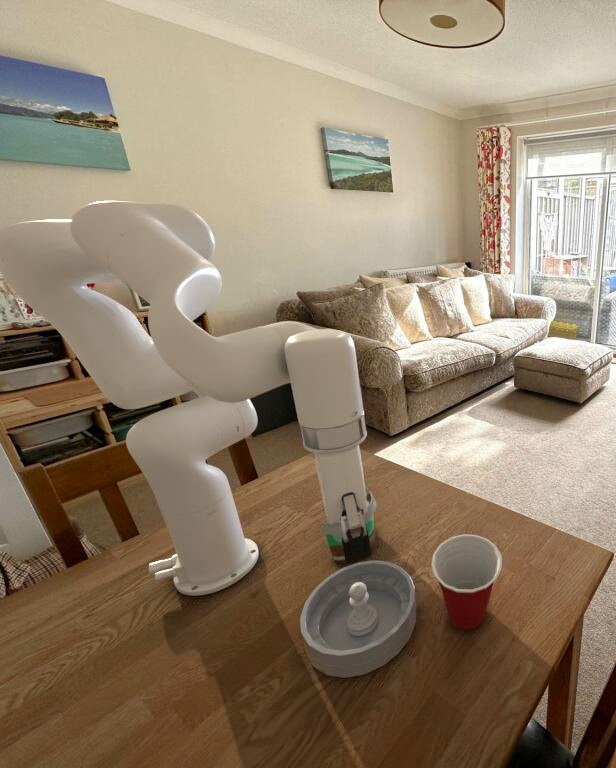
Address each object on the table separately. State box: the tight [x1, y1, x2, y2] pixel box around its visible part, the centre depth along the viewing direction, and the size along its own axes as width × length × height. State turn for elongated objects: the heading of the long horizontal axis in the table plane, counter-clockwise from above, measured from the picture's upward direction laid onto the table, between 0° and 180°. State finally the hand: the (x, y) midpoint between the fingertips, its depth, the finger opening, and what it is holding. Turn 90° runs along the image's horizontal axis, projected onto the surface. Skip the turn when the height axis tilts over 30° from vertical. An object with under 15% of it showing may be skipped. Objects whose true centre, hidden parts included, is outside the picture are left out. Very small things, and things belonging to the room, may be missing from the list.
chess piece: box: [347, 582, 379, 636], centre depth 62 cm, size 5×5×8 cm
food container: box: [321, 487, 377, 564], centre depth 77 cm, size 12×6×10 cm, turn 168°
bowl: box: [299, 559, 417, 679], centre depth 63 cm, size 16×16×5 cm
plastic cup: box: [431, 533, 503, 631], centre depth 64 cm, size 11×11×12 cm
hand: (352, 535), depth 57 cm, fingers open, 9 cm apart
